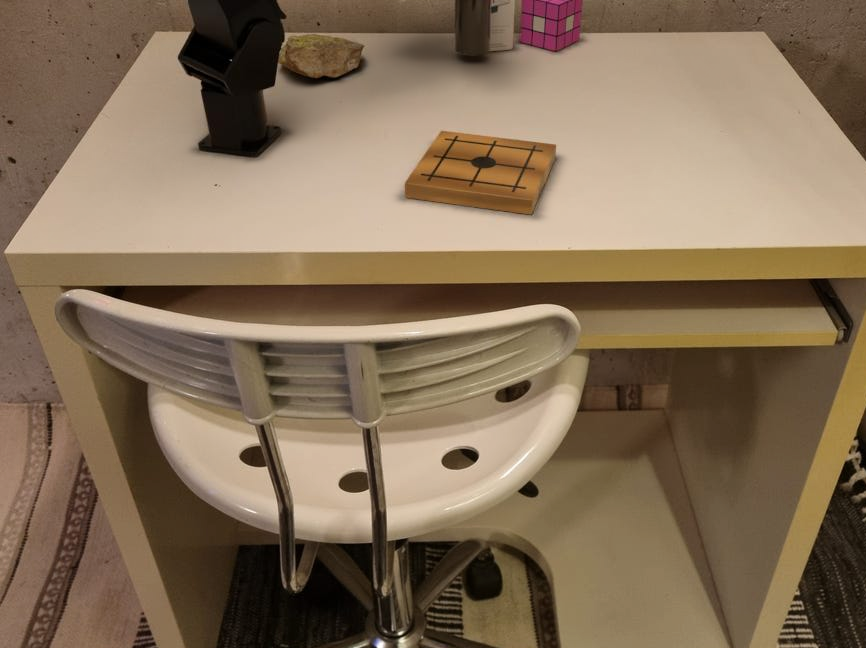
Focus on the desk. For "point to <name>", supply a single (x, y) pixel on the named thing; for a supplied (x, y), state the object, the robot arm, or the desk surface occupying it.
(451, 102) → the desk surface
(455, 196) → the game board
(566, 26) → the puzzle toy
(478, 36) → the black round pillar
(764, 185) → the desk surface
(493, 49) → the ink box
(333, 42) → the rock
